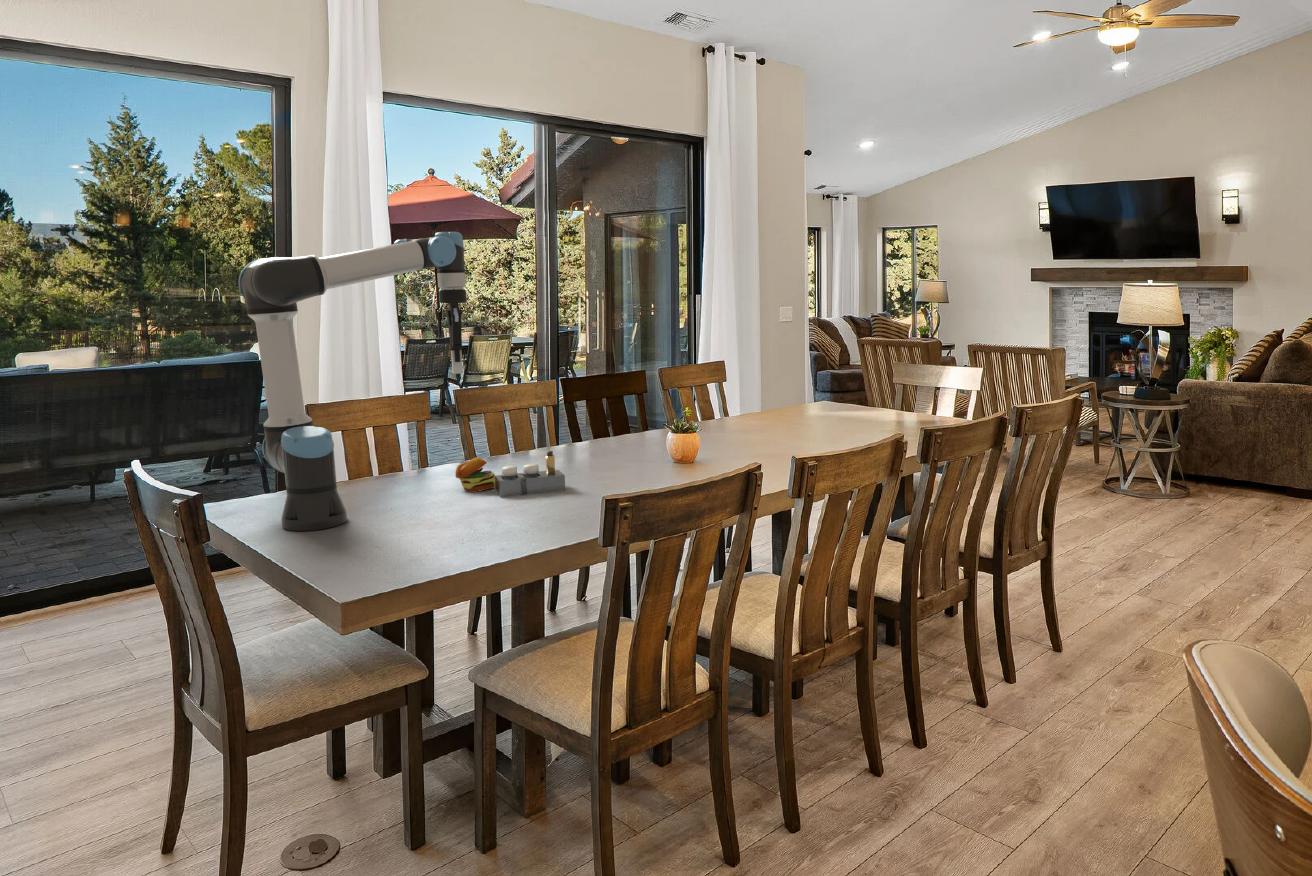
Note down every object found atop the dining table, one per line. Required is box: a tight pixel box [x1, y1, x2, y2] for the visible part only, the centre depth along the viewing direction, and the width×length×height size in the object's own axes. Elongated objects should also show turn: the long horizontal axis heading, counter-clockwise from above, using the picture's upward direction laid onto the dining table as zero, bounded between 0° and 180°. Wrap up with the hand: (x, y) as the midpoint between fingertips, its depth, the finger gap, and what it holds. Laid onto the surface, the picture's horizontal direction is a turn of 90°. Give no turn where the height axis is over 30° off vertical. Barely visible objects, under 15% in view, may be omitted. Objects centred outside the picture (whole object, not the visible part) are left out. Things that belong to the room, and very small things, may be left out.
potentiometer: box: [545, 450, 556, 474], centre depth 256 cm, size 2×2×6 cm
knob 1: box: [501, 465, 518, 479], centre depth 253 cm, size 4×4×7 cm
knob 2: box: [522, 463, 540, 477], centre depth 255 cm, size 4×4×7 cm
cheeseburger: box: [455, 457, 496, 493], centre depth 260 cm, size 10×11×10 cm
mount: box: [495, 469, 566, 498], centre depth 255 cm, size 18×8×4 cm, turn 108°
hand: (457, 373), depth 260 cm, fingers closed
